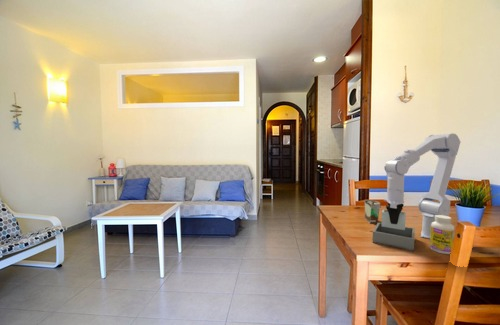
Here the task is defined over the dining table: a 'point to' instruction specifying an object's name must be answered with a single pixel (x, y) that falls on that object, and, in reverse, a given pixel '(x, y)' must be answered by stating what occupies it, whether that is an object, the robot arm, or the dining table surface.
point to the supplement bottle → (441, 234)
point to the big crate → (394, 237)
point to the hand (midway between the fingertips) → (394, 222)
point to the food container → (372, 211)
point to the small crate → (387, 223)
